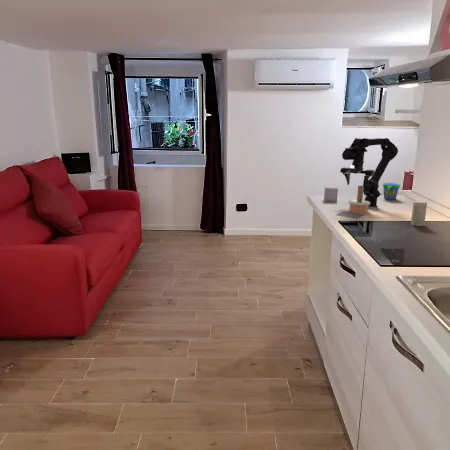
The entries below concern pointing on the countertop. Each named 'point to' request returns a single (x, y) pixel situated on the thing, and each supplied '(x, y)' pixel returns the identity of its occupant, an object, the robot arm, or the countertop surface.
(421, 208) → the skincare box
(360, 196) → the lid
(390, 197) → the snack cup
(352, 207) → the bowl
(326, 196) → the medicine box
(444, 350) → the countertop surface
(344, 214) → the mat
